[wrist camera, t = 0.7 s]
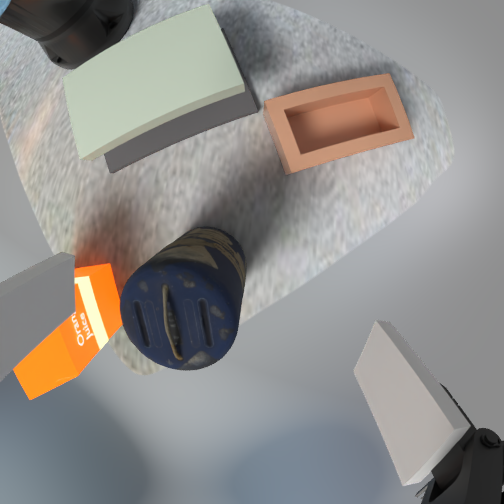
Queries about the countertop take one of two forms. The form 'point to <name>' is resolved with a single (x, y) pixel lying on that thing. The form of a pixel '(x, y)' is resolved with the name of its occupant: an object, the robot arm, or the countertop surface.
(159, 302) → the canister
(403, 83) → the countertop surface
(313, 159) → the dish
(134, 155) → the mat stand
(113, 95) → the board
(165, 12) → the countertop surface
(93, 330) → the orange juice
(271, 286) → the countertop surface
